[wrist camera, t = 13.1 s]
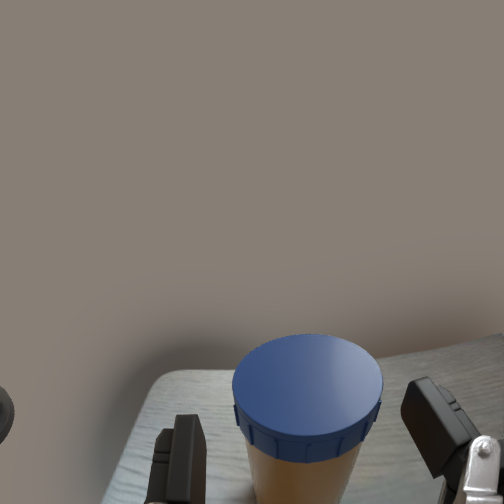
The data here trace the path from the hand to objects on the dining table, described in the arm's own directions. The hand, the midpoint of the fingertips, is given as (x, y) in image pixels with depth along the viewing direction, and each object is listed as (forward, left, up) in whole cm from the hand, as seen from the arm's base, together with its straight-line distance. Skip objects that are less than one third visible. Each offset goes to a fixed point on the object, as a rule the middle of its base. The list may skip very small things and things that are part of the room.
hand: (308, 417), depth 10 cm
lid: (0, +2, 0) cm, 2 cm away
